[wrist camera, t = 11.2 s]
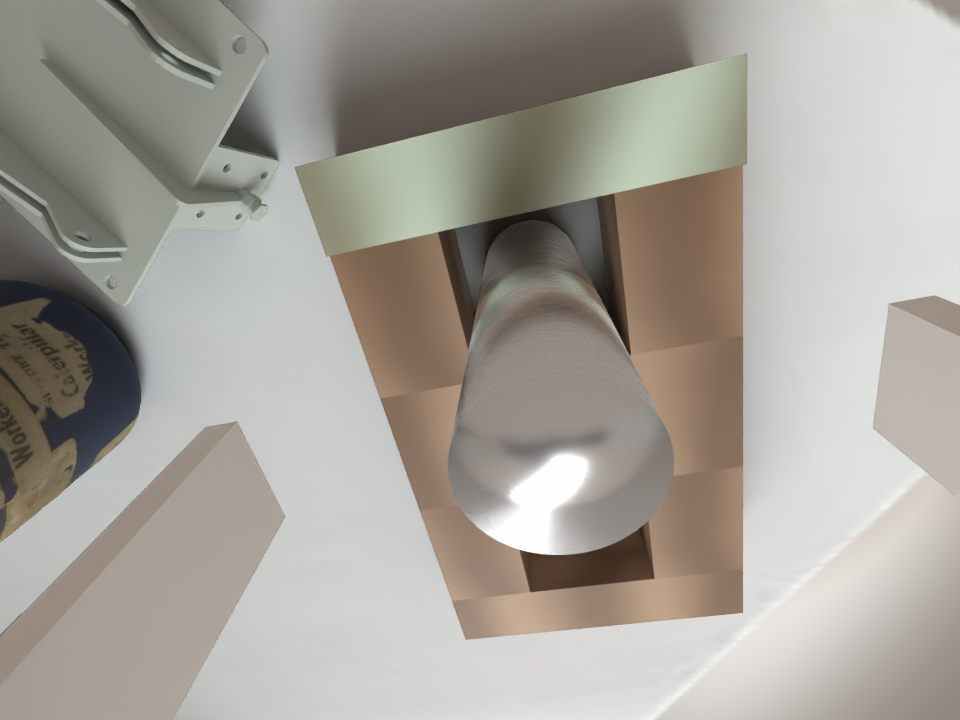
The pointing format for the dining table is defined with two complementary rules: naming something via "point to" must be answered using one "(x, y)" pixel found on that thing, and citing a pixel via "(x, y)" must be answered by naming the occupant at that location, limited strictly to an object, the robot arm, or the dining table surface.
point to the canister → (56, 397)
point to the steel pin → (552, 407)
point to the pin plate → (634, 312)
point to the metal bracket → (125, 127)
